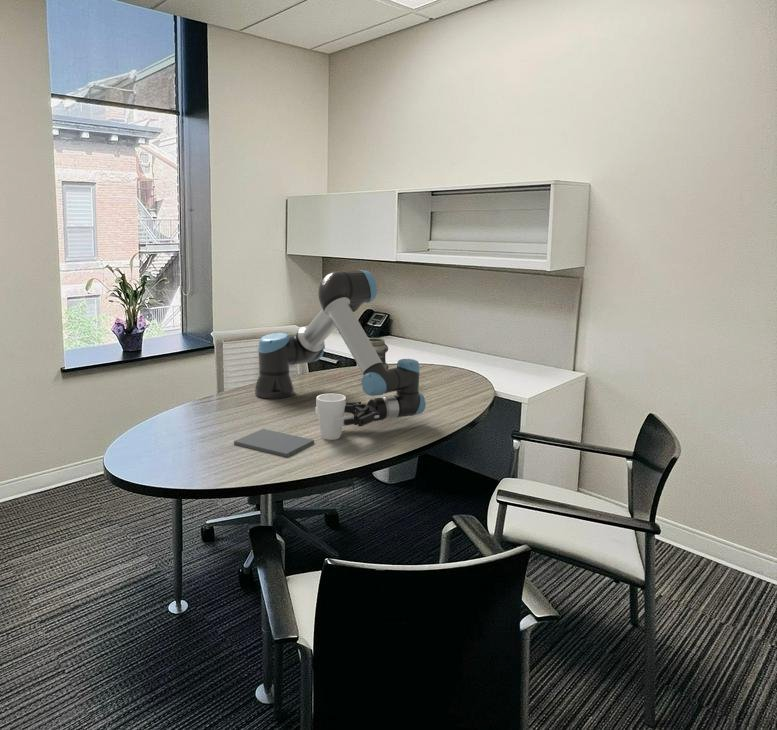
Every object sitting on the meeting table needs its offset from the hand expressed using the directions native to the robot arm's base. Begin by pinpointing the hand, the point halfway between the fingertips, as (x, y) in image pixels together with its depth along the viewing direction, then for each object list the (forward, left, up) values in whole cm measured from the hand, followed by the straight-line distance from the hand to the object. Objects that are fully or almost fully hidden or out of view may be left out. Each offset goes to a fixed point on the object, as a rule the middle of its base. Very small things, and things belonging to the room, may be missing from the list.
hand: (324, 416), depth 203 cm
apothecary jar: (-23, +73, -7) cm, 77 cm away
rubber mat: (-10, -13, -7) cm, 18 cm away
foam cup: (+1, +2, -7) cm, 8 cm away
